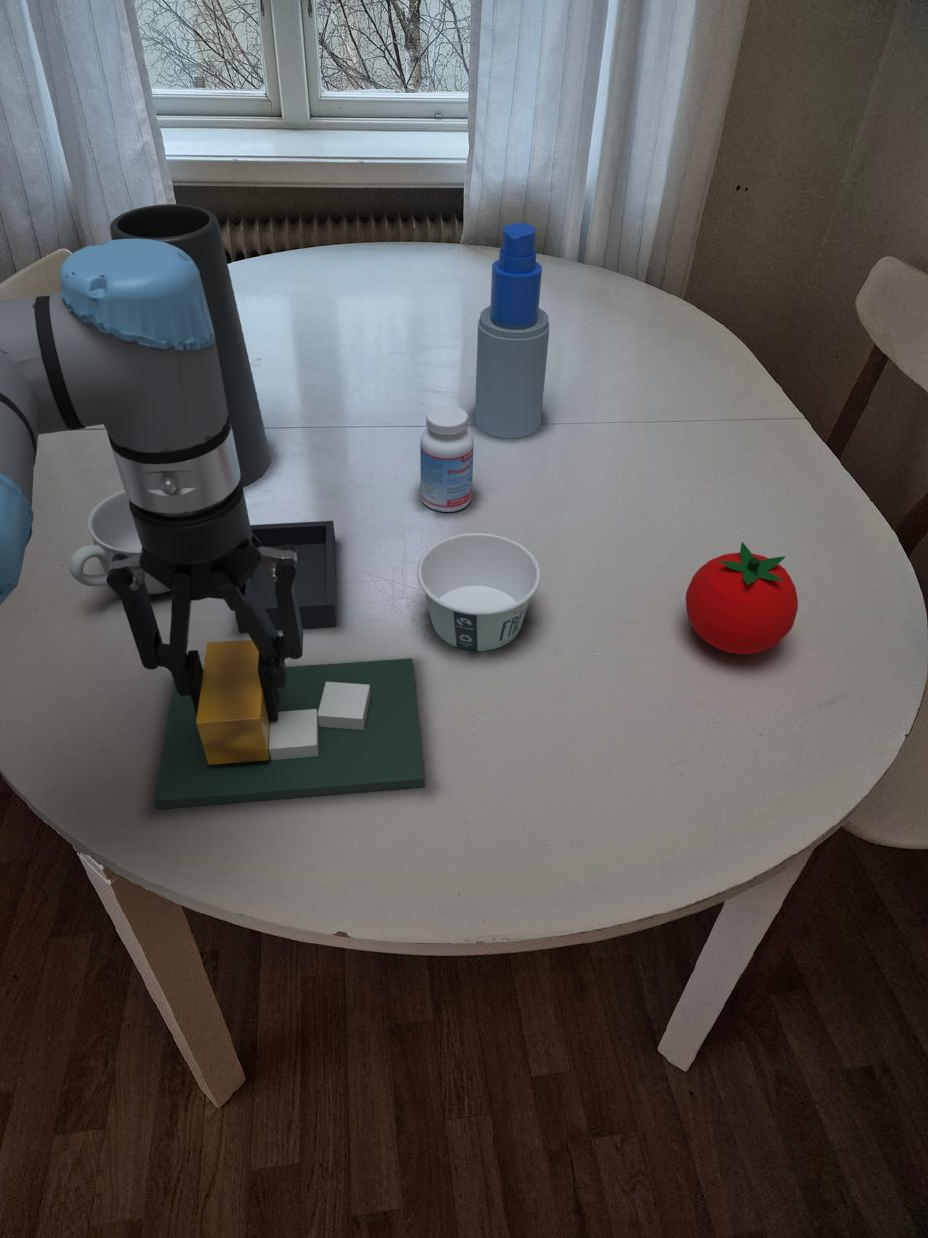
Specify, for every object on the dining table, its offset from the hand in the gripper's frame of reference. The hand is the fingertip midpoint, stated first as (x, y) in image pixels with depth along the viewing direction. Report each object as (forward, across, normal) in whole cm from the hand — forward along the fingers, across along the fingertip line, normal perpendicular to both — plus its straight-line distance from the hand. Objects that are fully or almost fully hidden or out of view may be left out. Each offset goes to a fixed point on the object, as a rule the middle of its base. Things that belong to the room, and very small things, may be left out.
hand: (240, 711), depth 74 cm
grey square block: (+2, +4, -2) cm, 5 cm away
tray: (+3, +3, +20) cm, 21 cm away
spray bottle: (+4, +31, +51) cm, 60 cm away
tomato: (+4, +47, +8) cm, 48 cm away
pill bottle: (+4, +21, +34) cm, 40 cm away
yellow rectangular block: (+1, 0, 0) cm, 1 cm away
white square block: (+2, +9, +1) cm, 9 cm away
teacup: (+4, -12, +22) cm, 25 cm away
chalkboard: (+3, +4, 0) cm, 5 cm away
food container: (+4, +22, +13) cm, 26 cm away
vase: (+4, -7, +44) cm, 45 cm away
